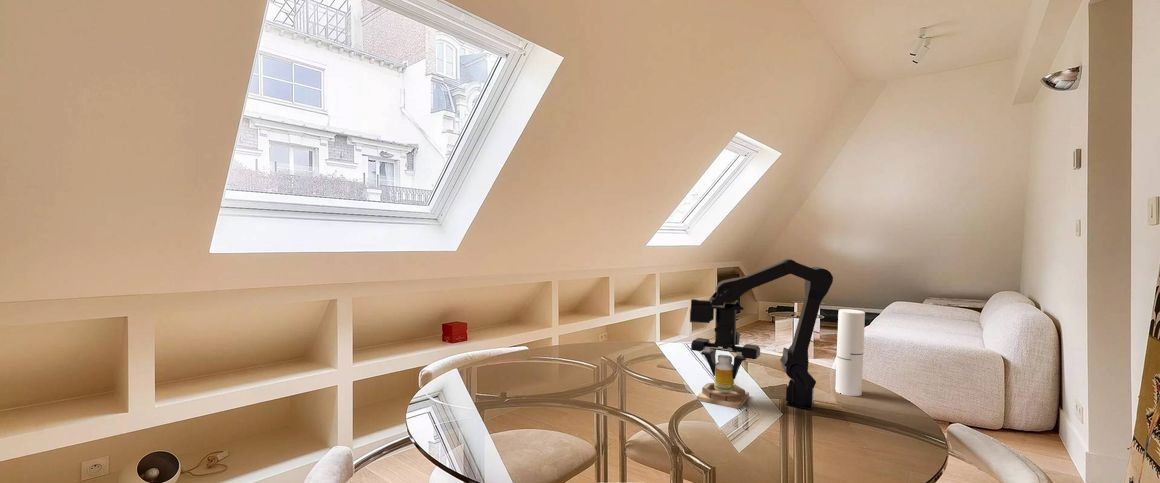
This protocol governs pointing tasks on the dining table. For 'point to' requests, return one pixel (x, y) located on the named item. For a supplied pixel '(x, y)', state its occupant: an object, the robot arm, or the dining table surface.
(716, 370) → the supplement bottle
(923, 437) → the dining table surface
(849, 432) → the dining table surface
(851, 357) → the cylindrical container
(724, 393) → the hub plate
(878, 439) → the dining table surface
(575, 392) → the dining table surface
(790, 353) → the robot arm
